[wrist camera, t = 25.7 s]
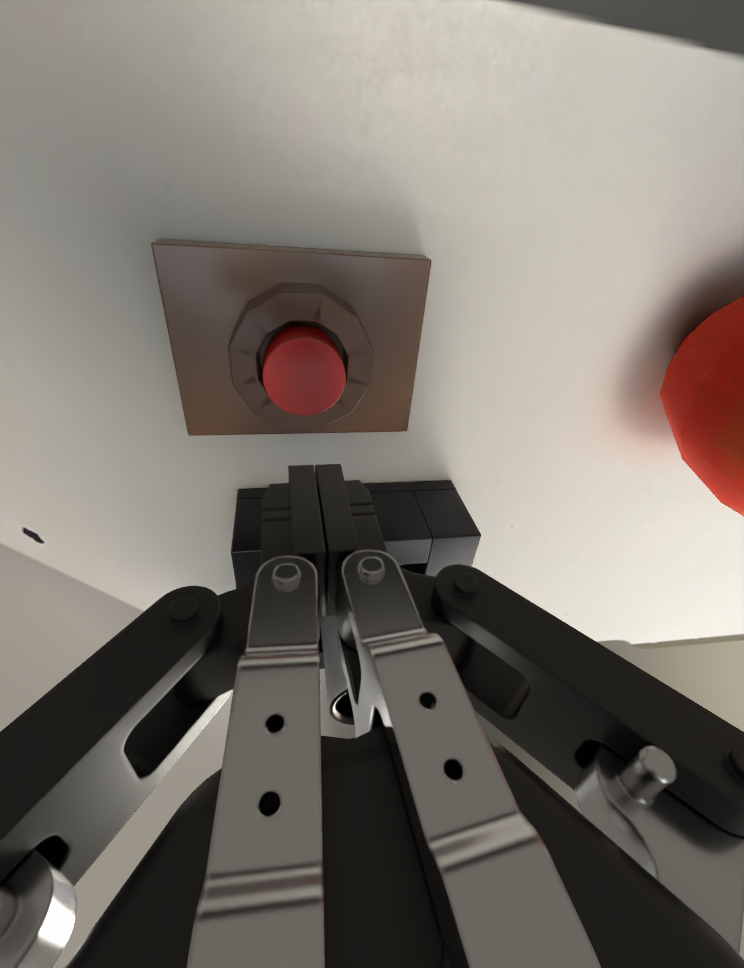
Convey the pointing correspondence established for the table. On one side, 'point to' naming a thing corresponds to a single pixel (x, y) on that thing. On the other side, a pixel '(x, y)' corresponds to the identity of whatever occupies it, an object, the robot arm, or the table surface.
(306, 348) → the button
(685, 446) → the apple
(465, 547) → the open-top black bin
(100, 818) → the robot arm
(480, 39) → the table surface
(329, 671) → the dark grey hollow cylinder
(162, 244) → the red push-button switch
